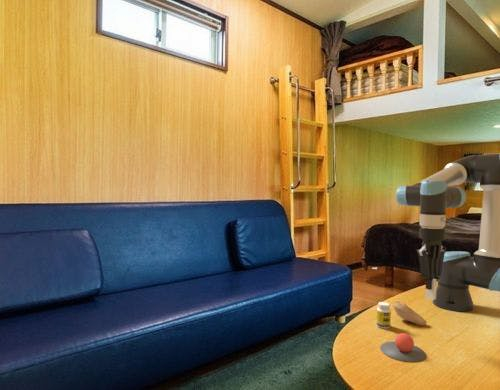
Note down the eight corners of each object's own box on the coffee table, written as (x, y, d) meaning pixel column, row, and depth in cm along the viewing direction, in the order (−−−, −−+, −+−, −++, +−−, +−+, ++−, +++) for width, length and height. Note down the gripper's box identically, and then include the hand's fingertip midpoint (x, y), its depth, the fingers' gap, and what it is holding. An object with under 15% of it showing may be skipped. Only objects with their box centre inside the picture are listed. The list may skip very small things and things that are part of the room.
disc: (408, 340, 117) (408, 340, 117) (436, 360, 104) (436, 359, 104) (372, 343, 114) (372, 343, 114) (396, 364, 102) (396, 363, 102)
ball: (403, 351, 112) (408, 334, 113) (415, 357, 107) (420, 339, 108) (388, 345, 111) (394, 328, 112) (399, 351, 106) (405, 333, 107)
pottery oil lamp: (421, 330, 125) (421, 310, 125) (388, 320, 134) (388, 302, 134) (429, 323, 132) (430, 304, 131) (397, 314, 140) (398, 297, 140)
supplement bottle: (383, 330, 126) (384, 306, 125) (373, 325, 130) (374, 302, 129) (393, 327, 128) (393, 304, 127) (382, 322, 132) (383, 300, 132)
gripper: (431, 229, 109) (429, 305, 110) (455, 227, 115) (453, 298, 116) (409, 227, 115) (408, 298, 116) (433, 224, 122) (431, 292, 123)
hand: (430, 298), depth 116 cm, fingers closed
